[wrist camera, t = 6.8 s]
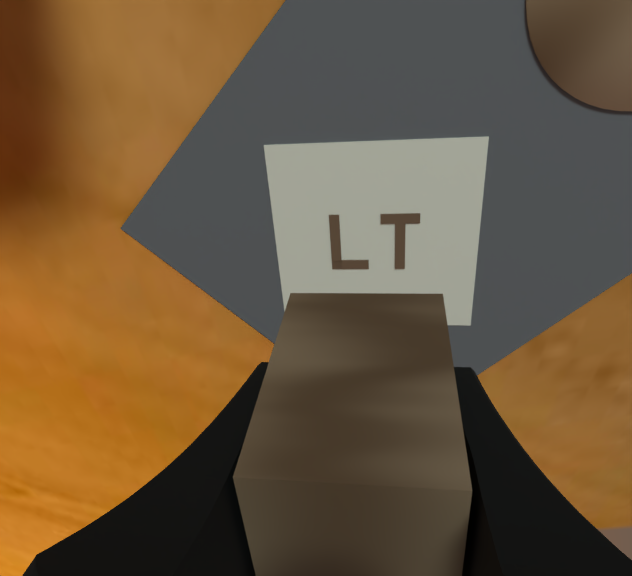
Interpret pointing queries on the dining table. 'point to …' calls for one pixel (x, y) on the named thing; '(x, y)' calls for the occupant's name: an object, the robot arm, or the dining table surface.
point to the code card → (379, 217)
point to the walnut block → (357, 442)
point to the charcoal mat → (401, 124)
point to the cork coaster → (585, 48)
